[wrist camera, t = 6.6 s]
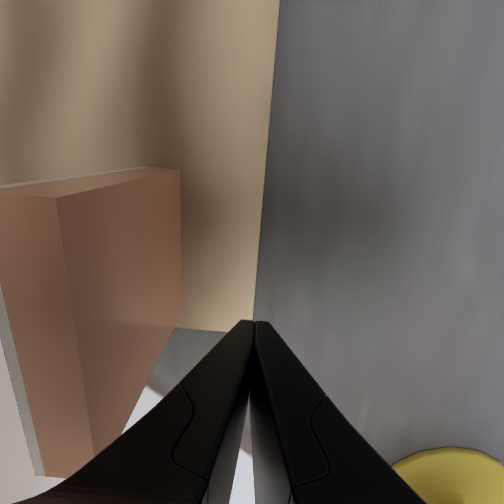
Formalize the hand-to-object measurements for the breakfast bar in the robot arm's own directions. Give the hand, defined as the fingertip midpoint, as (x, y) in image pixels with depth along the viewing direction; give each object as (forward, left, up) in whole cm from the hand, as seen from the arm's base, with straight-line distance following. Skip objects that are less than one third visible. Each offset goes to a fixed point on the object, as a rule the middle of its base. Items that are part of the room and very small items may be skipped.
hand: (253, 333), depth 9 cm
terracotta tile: (+5, 0, -7) cm, 9 cm away
